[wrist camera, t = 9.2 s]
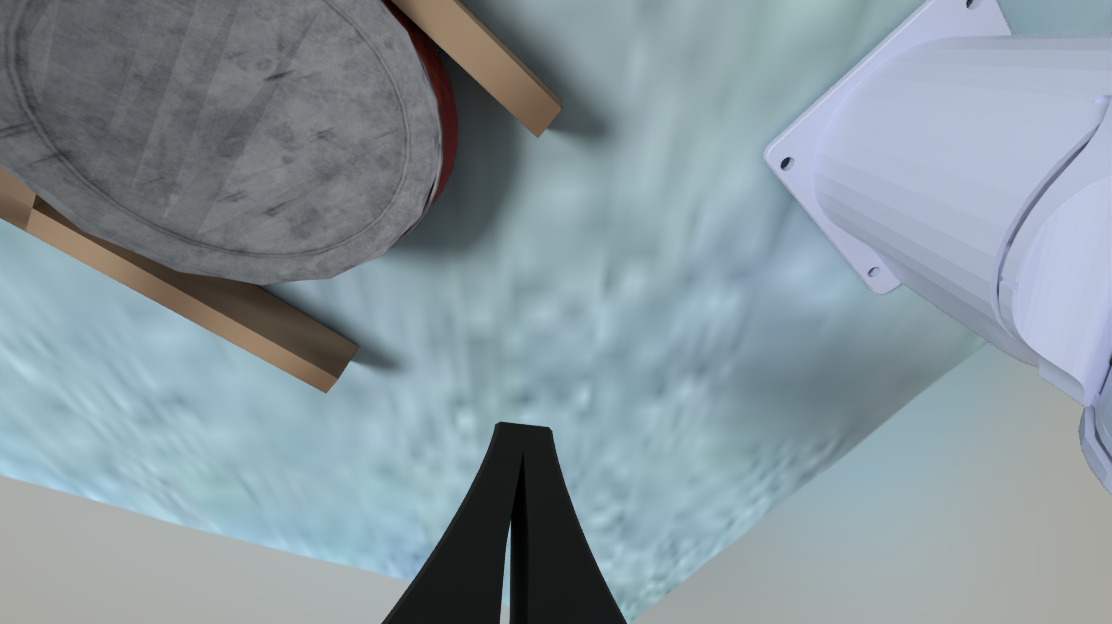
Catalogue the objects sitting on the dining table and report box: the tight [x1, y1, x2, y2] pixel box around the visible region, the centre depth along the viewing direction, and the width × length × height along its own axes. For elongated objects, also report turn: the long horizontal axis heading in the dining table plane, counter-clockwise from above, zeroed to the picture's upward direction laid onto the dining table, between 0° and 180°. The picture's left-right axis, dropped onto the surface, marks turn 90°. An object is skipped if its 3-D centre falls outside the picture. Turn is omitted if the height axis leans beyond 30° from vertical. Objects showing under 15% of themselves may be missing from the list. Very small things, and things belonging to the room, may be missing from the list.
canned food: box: [0, 0, 458, 285], centre depth 14 cm, size 11×10×10 cm
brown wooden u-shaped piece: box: [0, 0, 562, 393], centre depth 16 cm, size 13×16×2 cm
